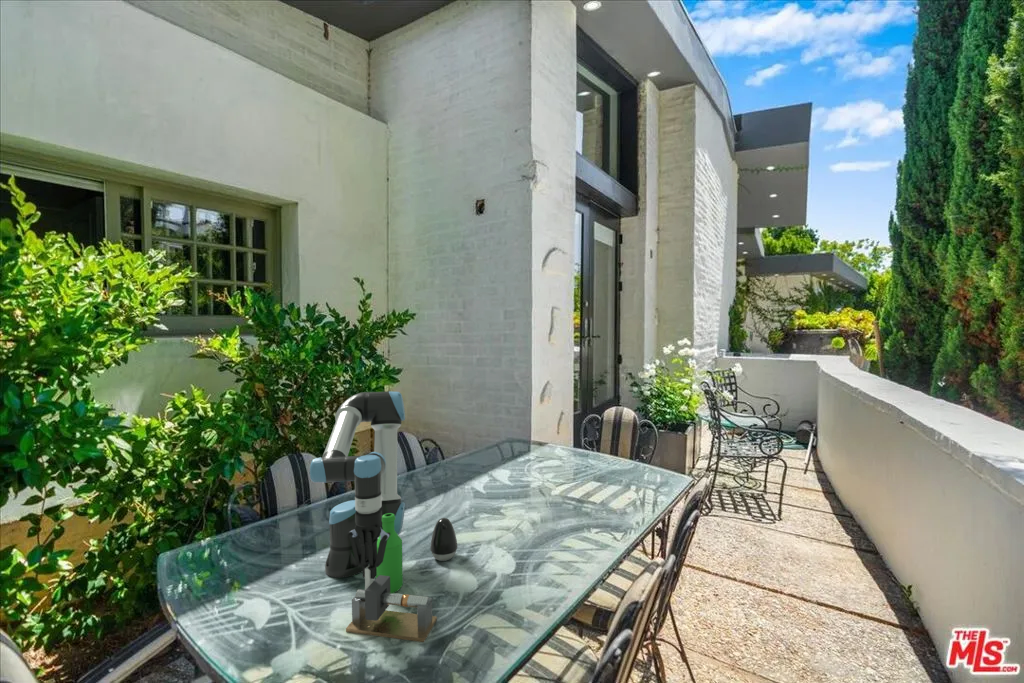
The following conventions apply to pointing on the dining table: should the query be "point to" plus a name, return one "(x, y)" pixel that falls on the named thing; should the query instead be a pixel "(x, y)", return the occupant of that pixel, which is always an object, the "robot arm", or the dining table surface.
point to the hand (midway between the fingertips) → (369, 588)
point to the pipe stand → (394, 617)
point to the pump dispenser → (443, 540)
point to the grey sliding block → (376, 597)
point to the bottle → (391, 555)
